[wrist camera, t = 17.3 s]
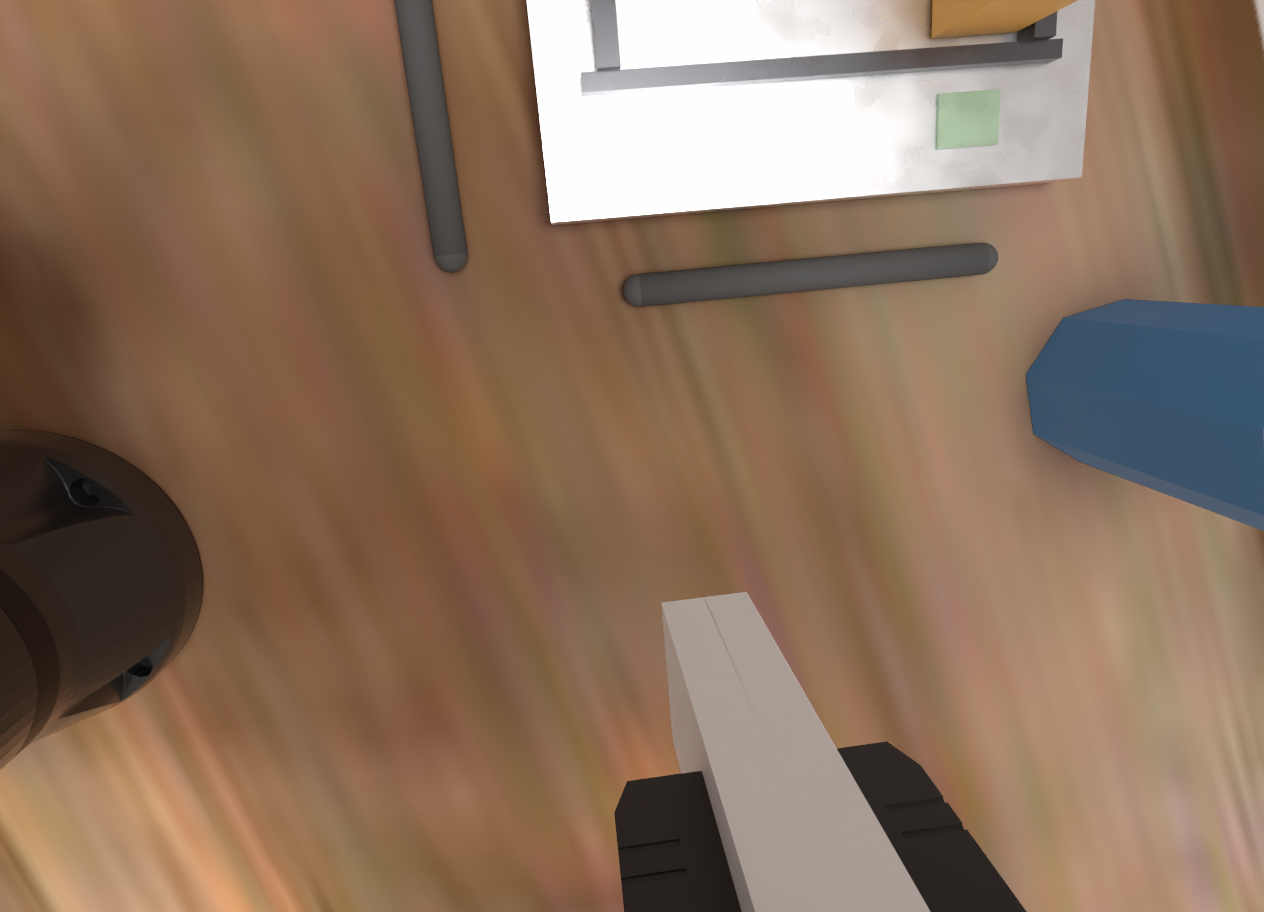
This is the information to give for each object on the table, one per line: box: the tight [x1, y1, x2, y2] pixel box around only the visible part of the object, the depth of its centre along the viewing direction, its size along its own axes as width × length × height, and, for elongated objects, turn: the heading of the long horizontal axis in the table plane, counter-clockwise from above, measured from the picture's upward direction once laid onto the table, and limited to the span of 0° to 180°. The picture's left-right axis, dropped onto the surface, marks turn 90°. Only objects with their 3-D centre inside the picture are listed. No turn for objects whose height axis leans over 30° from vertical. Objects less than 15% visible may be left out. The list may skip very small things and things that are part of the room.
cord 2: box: [623, 243, 998, 307], centre depth 36 cm, size 20×2×2 cm, turn 95°
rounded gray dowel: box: [394, 0, 468, 272], centre depth 32 cm, size 22×2×2 cm, turn 5°
